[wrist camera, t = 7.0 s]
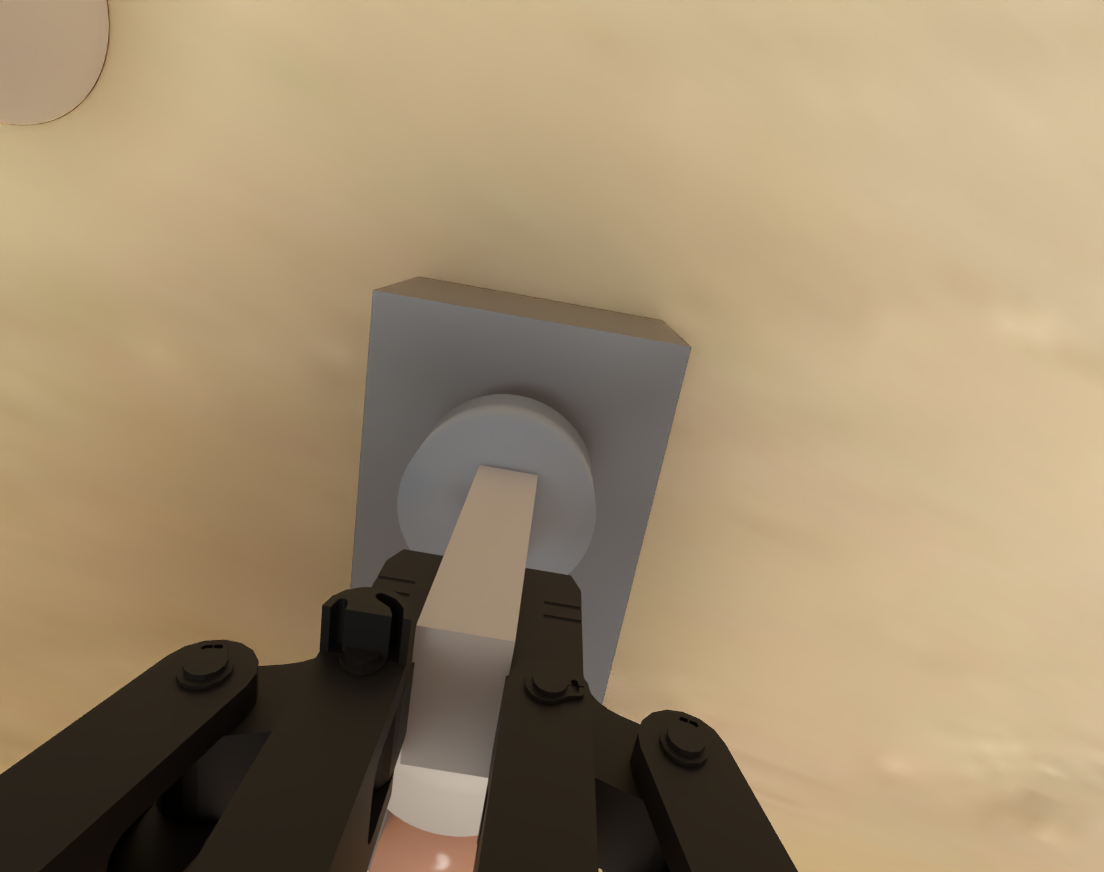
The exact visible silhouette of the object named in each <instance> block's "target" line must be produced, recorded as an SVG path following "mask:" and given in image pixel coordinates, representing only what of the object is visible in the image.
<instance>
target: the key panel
mask: <svg viewBox="0 0 1104 872" xmlns="http://www.w3.org/2000/svg"><path fill="white" fill-rule="evenodd" d="M690 350H691V346H690V345H689V344H687V343H686V342H685V341H684V340H683V339H682V338H681V337H680V336H679V335H678V334H677V333H676V332H674V331H673V330H672V329H671V328H670V327H669V326H668V325H667V324H666V323H665V322H664V321H662V320H656V319H651V318H645V317H640V316H634V315H629V314H623V313H617V312H612V311H606V310H601V309H595V308H590V307H584V306H579V305H573V304H567V303H562V302H556V301H551V300H545V299H540V298H534V297H528V296H523V295H517V294H512V293H506V292H501V291H495V290H489V289H484V288H478V287H473V286H467V285H462V284H456V283H450V282H445V281H439V280H434V279H428V278H423V277H416V278H413V279H410V280H406V281H403V282H399V283H396V284H392V285H389V286H386V287H382V288H379V289H375V290H373V297H372V311H371V324H370V337H369V350H368V363H367V377H366V390H365V403H364V416H363V430H362V443H361V456H360V469H359V482H358V496H357V509H356V522H355V535H354V549H353V562H352V575H351V588H350V589H353V588H359V587H372V585H373V583H374V581H375V580H376V578H378V574H379V573H380V571H381V569H382V567H383V565H384V564H385V562H386V560H388V559H389V558H391V557H392V556H394V555H395V554H397V553H398V552H400V551H401V550H403V549H406V550H410V549H409V547H408V545H407V544H406V542H405V539H404V537H403V534H402V532H401V528H400V524H399V520H398V511H397V500H398V492H399V486H400V483H401V480H402V477H403V474H404V472H405V470H406V468H407V466H408V464H409V462H410V461H411V459H412V458H413V456H414V455H415V454H416V452H417V451H418V449H419V448H420V446H421V445H422V443H423V442H424V441H425V439H426V438H427V436H428V435H429V433H430V432H431V430H432V429H433V428H434V426H435V425H436V424H437V423H438V421H439V420H440V419H441V418H442V417H443V416H444V415H446V414H447V413H448V412H449V411H451V410H452V409H454V408H455V407H457V406H459V405H460V404H462V403H464V402H467V401H469V400H471V399H475V398H478V397H482V396H487V395H494V394H511V395H519V396H523V397H527V398H531V399H534V400H536V401H539V402H542V403H544V404H545V405H547V406H549V407H551V408H553V409H554V410H555V411H557V412H558V413H560V414H561V415H562V416H563V417H564V418H566V419H567V420H568V421H569V422H570V423H571V424H572V426H573V427H574V428H575V429H576V431H577V432H578V433H579V435H580V437H581V438H582V440H583V442H584V444H585V446H586V448H587V451H588V454H589V457H590V461H591V467H592V475H593V484H594V494H595V503H596V521H595V528H594V532H593V536H592V539H591V542H590V544H589V547H588V549H587V551H586V553H585V554H584V556H583V557H582V559H581V561H580V562H579V563H578V564H577V566H576V567H575V568H574V569H573V570H572V571H571V572H570V573H569V574H568V575H571V576H572V578H573V579H574V581H575V582H576V584H577V585H578V587H579V588H580V590H581V603H582V608H581V610H582V639H583V674H584V679H585V680H586V681H587V682H588V685H589V689H590V692H591V694H592V695H593V696H594V698H595V699H596V700H597V701H598V702H599V703H601V704H602V702H603V698H604V694H605V690H606V686H607V682H608V678H609V674H610V670H611V666H612V662H613V658H614V654H615V650H616V646H617V642H618V638H619V634H620V630H621V626H622V622H623V618H624V614H625V610H626V606H627V602H628V598H629V594H630V590H631V586H632V582H633V578H634V574H635V570H636V566H637V562H638V558H639V554H640V550H641V546H642V542H643V538H644V534H645V530H646V526H647V522H648V518H649V514H650V510H651V506H652V502H653V498H654V494H655V490H656V486H657V482H658V478H659V474H660V470H661V466H662V462H663V458H664V454H665V450H666V446H667V442H668V438H669V434H670V430H671V426H672V422H673V418H674V414H675V410H676V406H677V402H678V398H679V394H680V390H681V386H682V382H683V378H684V374H685V370H686V366H687V362H688V358H689V354H690ZM387 812H388V809H387V810H386V813H385V816H384V819H383V822H382V826H381V829H380V832H379V835H378V838H377V841H376V844H375V848H374V851H373V854H372V857H371V860H370V863H369V867H368V870H370V866H371V863H372V860H373V857H374V854H375V850H376V847H377V844H378V841H379V838H380V834H381V831H382V828H383V825H384V821H385V818H386V815H387Z"/></svg>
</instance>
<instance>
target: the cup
mask: <svg viewBox="0 0 1104 872" xmlns="http://www.w3.org/2000/svg"><path fill="white" fill-rule="evenodd" d="M108 35H109V20H108V8H107V1H106V0H0V122H1V123H7V124H15V125H34V124H40V123H45V122H48V121H52V120H54V119H57V118H59V117H61V116H63V115H65V114H67V113H68V112H70V111H71V110H73V109H74V108H75V107H76V106H78V105H79V104H80V103H81V102H82V101H83V100H84V99H85V98H86V96H87V95H88V94H89V92H90V91H91V90H92V88H93V86H94V85H95V83H96V81H97V79H98V77H99V75H100V72H101V70H102V67H103V64H104V61H105V56H106V51H107V45H108Z"/></svg>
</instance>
